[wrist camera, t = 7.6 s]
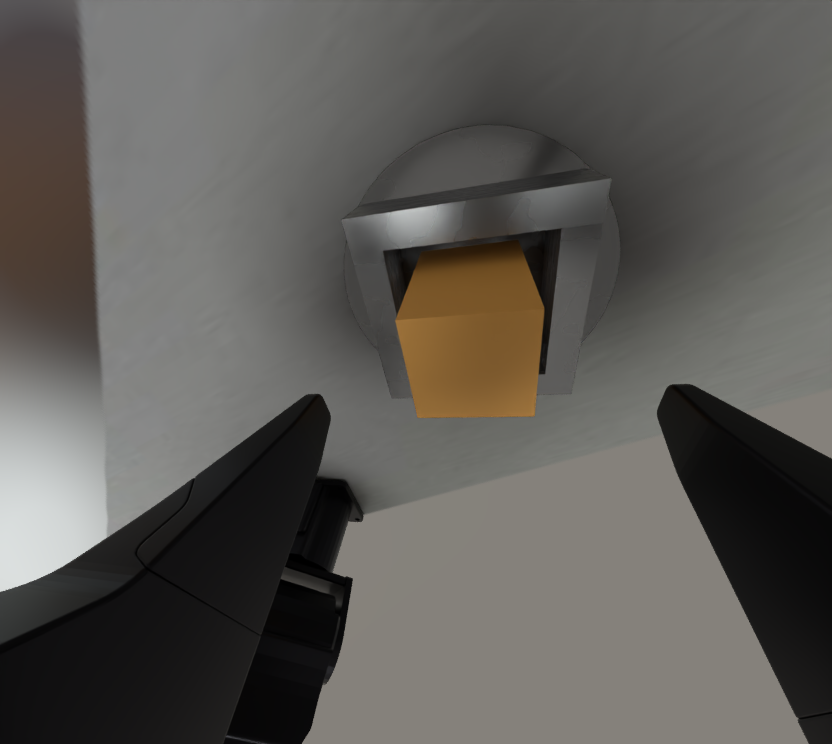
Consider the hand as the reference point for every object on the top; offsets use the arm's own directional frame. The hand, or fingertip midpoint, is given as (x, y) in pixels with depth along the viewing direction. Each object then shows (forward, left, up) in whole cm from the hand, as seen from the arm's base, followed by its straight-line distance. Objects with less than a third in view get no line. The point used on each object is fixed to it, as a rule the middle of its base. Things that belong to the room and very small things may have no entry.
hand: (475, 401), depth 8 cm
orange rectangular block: (0, 0, -7) cm, 7 cm away
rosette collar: (0, 0, -8) cm, 8 cm away
